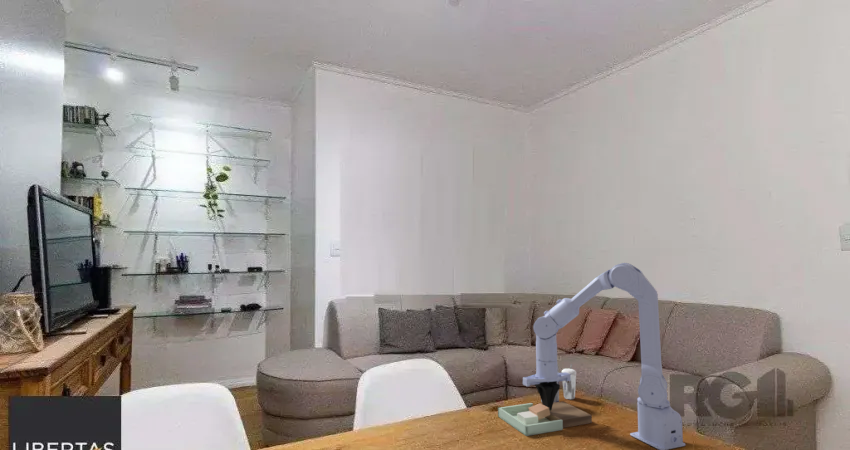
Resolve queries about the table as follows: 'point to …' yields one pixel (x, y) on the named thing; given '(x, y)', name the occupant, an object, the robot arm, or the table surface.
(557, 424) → the tray
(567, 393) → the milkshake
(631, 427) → the table surface
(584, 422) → the board
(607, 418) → the table surface
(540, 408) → the tile
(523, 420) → the tile
